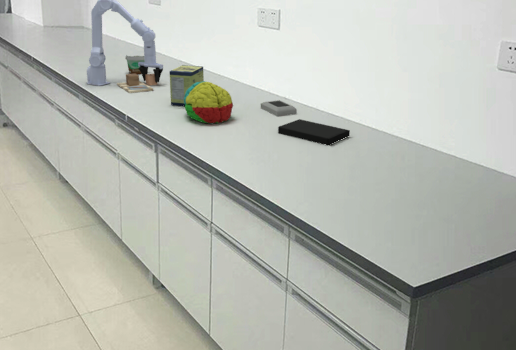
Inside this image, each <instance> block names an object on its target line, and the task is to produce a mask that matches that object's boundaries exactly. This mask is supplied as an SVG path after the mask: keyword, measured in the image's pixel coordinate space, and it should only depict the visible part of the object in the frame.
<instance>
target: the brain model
mask: <svg viewBox="0 0 516 350" xmlns="http://www.w3.org/2000/svg"><path fill="white" fill-rule="evenodd" d="M184 104H185V105H186V106H184V108H185V112H186V114H187V116H189V117H190V118H191V119H192V120H195V121H198V122H200V123H203V124H204V123H205V124H209V123H213V124H219V123H221V124H222V123H225V122H227V121H228V120H229V119H230V118H231V116H232V112H233V111H232V109H233V107H234V105H233V100H232V96H231V94H230V93H229V91H228V90H226V89H225V88H223V87H221V86H218V84H214V83H213V82H211V81H210V82H209V81H206V80H205V81H202V82H196V83H194V84H193V85H192V86H191V87H190V88H188V89H187V91H186V93H185V96H184Z"/></svg>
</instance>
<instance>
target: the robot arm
mask: <svg viewBox="0 0 516 350" xmlns="http://www.w3.org/2000/svg"><path fill="white" fill-rule="evenodd" d="M107 11H111V12H114V13H118V14H119V15H120V16H121V17H122V18H124V19H125V20H126V21H127V22H128V23H130V28H131V29H132V30H134V32H135V33H136V34H137V35H139V36H140V37H141V39H142V41H143V56H144V59H145V62H138V66H140V67H139V70H140V72H141V74H140V75H141V76H142V79H143V81H144V82H146V77H145V74H149V73H148V71H149V68H152V70H153V74H154V75H155V82H156V83H157V84H158V83H160V79H161V75H162V72H163V71H164V64H161V63H158V62H157V52H156V42H155V41H156V33H155V32H154V30H153V29H151V27H148V26H147V25H146V24H145V23H144V21H143V20H142V19H139V18H135V17H134V16H133V15H132V14H131V13H130V12H129V11H128V10H127V9H126V8H125V7H124V6H123V5H122V4H121V3H120V2H119V0H97V1H96V3H95V4H94V6H93V8H92V9H91V11H90V12H91V13H90V14H91V15H90V16H91V50H90V56H89V58H88V62H89V64H90V65H88V67H87V69H86V77H87V78H86V80H87V82H86V84H88V85H93V86H97V87H98V86H99V87H100V86H104V85H108V84H111V81H107V72H106V71H107V70H106V64H105V62H106V56H105V53H104V47H103V15H104V14H105V13H106V12H107Z"/></svg>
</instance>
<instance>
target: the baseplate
mask: <svg viewBox="0 0 516 350" xmlns="http://www.w3.org/2000/svg"><path fill="white" fill-rule="evenodd" d="M139 76H140V74H139V75H137V74H129V73H127V74H125V82H117V83H116V85H117V86H118V87H120V88H121V89H123V91H125V92H127V93H128V94H133V93H134V94H135V93H145V92H153V91H154V88H153V87H151V86H149V85H147V84H146V83H144V82H142V81H140V77H139Z"/></svg>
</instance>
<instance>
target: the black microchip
mask: <svg viewBox="0 0 516 350" xmlns="http://www.w3.org/2000/svg"><path fill="white" fill-rule="evenodd" d="M277 129H278V130H277V133H278V134H279V135H284V136H288V137H292V138H296V139H299V140H304V141H309V142H312V141H313V142H312V143H316V142H317V144H320V143H321V144H320V145H324V144H326V145H325V146H328V145H329V146H331V145H333V144H332V143H334V142H336V141H338V140H341V139H343V138H345V137H347V136H349V137H350V134H351V132H350V130H349V129H345V128H341V127H337V126H333V125H328V124H323V123H319V122H314V121H311V120H304V119H300V118H299V119H297V120H294V121H290V122H287V123H284V124H282V125H279V126H278V127H277ZM347 138H348V137H347ZM345 139H346V138H345ZM343 140H344V139H343ZM341 141H342V140H341ZM338 142H339V141H338ZM336 143H337V142H336ZM330 144H331V145H330ZM334 144H335V143H334Z"/></svg>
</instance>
